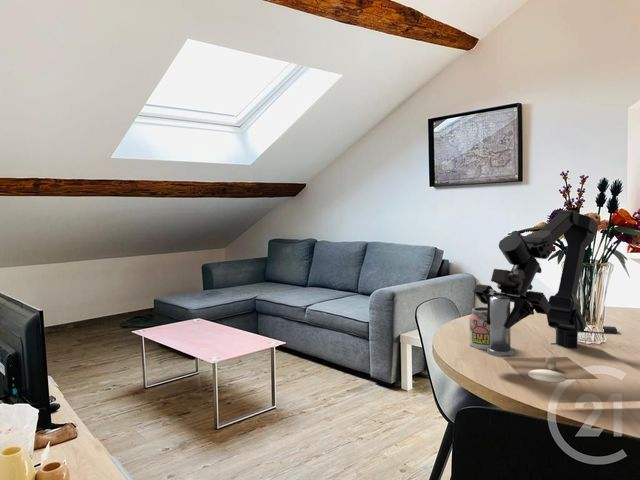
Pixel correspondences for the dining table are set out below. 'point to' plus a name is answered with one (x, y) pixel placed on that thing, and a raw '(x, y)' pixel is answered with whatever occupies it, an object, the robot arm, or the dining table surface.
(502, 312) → the cylinder
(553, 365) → the dowel
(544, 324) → the dining table surface
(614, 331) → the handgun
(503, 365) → the dining table surface
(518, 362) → the plate
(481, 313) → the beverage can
